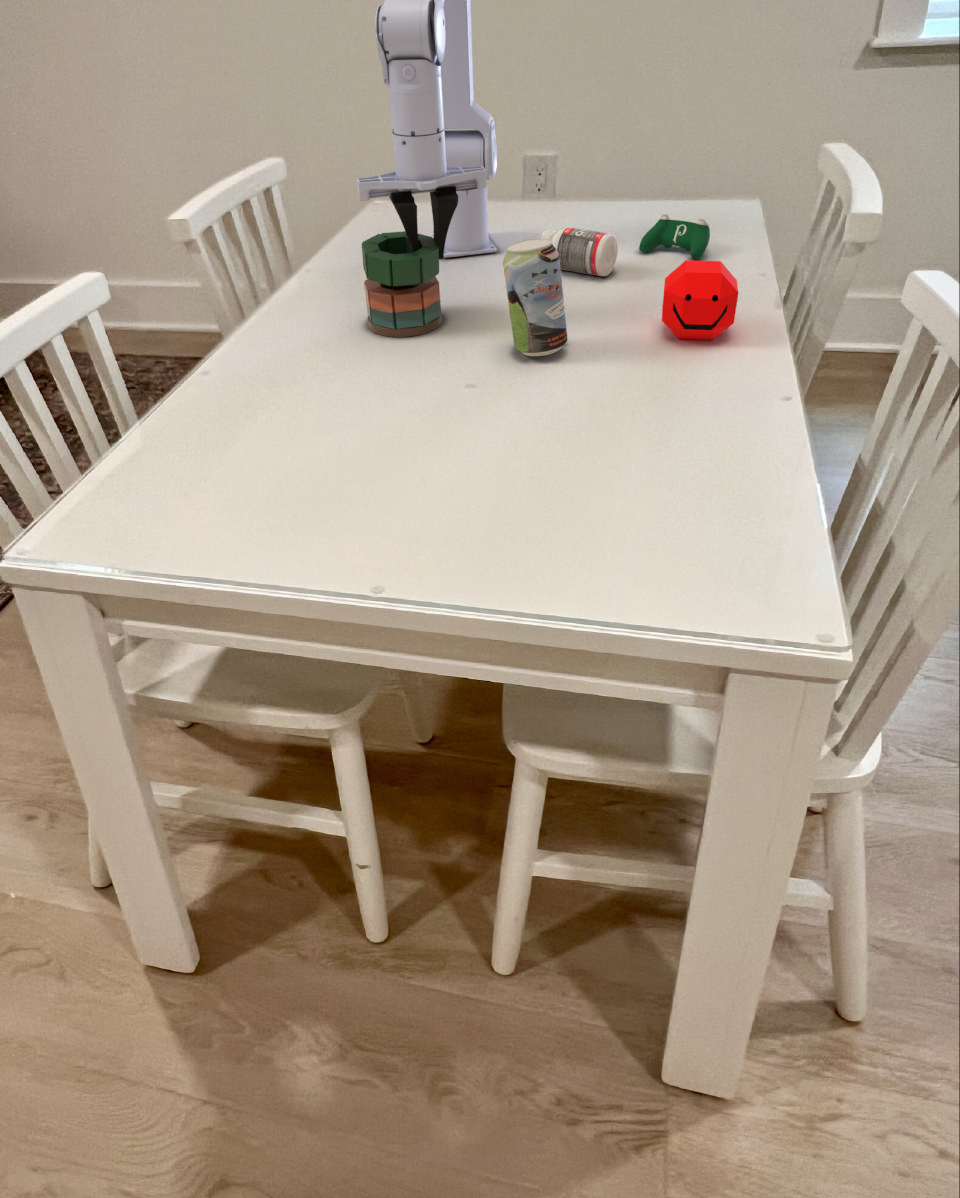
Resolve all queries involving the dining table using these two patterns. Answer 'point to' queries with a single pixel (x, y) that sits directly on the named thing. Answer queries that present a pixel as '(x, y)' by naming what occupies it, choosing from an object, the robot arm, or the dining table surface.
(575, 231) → the pill bottle
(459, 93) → the robot arm
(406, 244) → the green ring
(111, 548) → the dining table surface
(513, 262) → the beverage can
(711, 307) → the ball
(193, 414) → the dining table surface
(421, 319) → the ring stack
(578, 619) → the dining table surface
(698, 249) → the gaming controller
